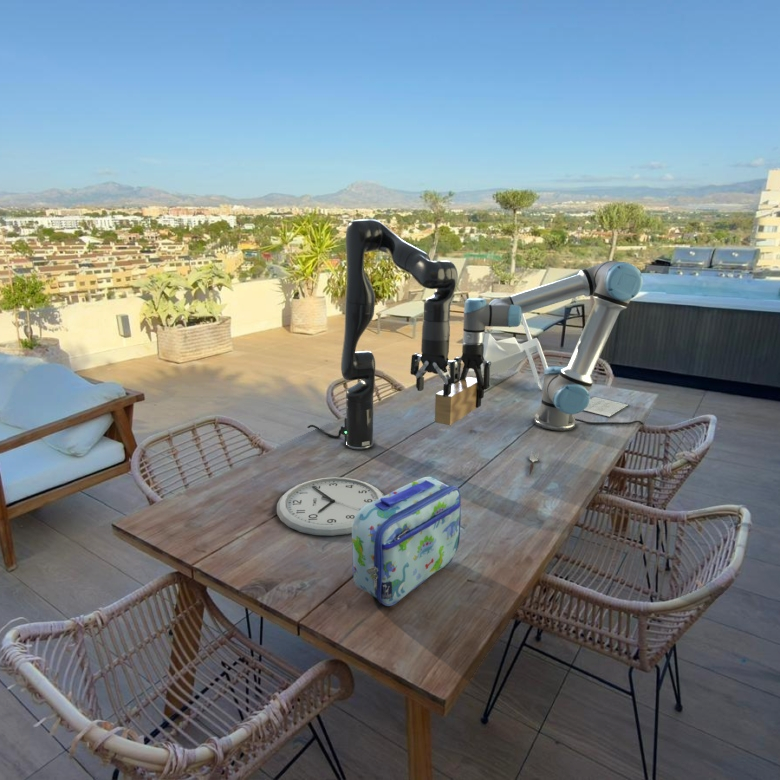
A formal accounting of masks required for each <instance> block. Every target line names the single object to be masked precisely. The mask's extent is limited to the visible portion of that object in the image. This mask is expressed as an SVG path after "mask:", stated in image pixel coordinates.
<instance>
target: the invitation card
mask: <svg viewBox="0 0 780 780" xmlns="http://www.w3.org/2000/svg"><path fill="white" fill-rule="evenodd" d="M628 406H629V404H627V403H623V402H618V401H614V400H609V399H605V398H601V397H596V396H593V397H592V398H590V401H589V404H588V406H587V407H586V408H585V409H584V410H583V411H584V412H587V413H593V414H596V415H600V416H604V417H608V418H609V417H611V416H613V415H614V414H616V413H617V412H619V411H621V410H623V409H624V408H626V407H628Z"/></svg>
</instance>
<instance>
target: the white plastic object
mask: <svg viewBox="0 0 780 780" xmlns="http://www.w3.org/2000/svg"><path fill="white" fill-rule="evenodd" d="M521 323H522V326H523V328H524V329H523V330H524V332H525V335H526V338H527V341H524V342H522V343H521V342H519V341H517V338H516V337H515V336H513V337H508V338H504V339H499V340H496V339H495V338H494V336H493V335H492V334H491V333H490V332H489V333H487V332H486V333H485V337H484V342H483V344H484V353H483V357H484V360H486V361H488V362H489V361H490V362H491V366H490V376H491V375H492V376H493V375H498V376H501V375H504V374H507V373H508V372H509V370H510V369H512V368H513V367H514V366H516V365H518V364H519V363H520V362H521V361H523V360H525V359H526V357H527V360H528V363H529V367H530V369H531V372H532V375H533V379H534V382H535V384H536V385H537V386H538V388H539V389H540V390H543V385H542V382H541V380H540V377H539V374H538V371H537V368H536V365H535V361H534V358H533V355H532V354H535V353H537V352H538V355H539V358H540V360H541V364H542V367H543V369H544V371H545V369H546V368H547V367H549V366H548V363H547V359H546V357H545V354H544V352H543V351H544V350H543V348H542V346H541V343H540V340H539V339H538V338H537V337H535V338H533V337H532V334H531V331H530V328H529V325H528V322H527V319H526V316H525V313H523V314H522V316H521ZM468 373H469V374H470V375H471V377H472V378H476V374H475V372H474V369H471V368H469V370H468ZM481 373H482V377H484V366H483V363H482V364H481Z"/></svg>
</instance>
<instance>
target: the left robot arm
mask: <svg viewBox="0 0 780 780" xmlns="http://www.w3.org/2000/svg"><path fill="white" fill-rule="evenodd" d="M377 251H378V252H382V253H385V254H387V255H389V256H390V259H391V261H392V263H393V264H394V265H395V267H397V268H398V269H399V270H402V271H403V272H405V273H406V274H409V275H411V277H412V278H413V279H414V280H415V281H416V282H417V283H418V285H420V287H421V286H422V287H423V288H425V289H428V290H434V292H433V295H432V296H430V297H427V298H426V299H425V300H424V303H423V321H422V326H421V344H420V345H421V348H420V351H421V354H420V353H419V352H416V353H414V354H412V355H411V359H410V360H411V361H410V373H409V374H410V375H411V376H415V378H416V380H415V387H416V389H417V391H418V392H421V391H424V388H425V377H424V376H425V375H426V373H430V374H431V373H432V374H435V375H438V377H439V378H441V379H442V381H443V383H444V384H443V387H442V388H443V389H442V390H443V397H448V396H449V395H450V394H451V385H453V384H454V383H455V382H457V381H458V361H457V360H455V361H454V360H449V353H450V337H451V333H450V332H451V326H450V324H451V323H450V316H451V304H452V301H453V298H454V294H455V291H456V289H457V288H456V287H457V284H458V279H459V278H458V275H459V274H458V270H457V267H456V265H455V264H454V263H453V262H452V261H449V260H434V261H433V260H431V258H430V255H428V253H426V252H425V251H423V250H421V249H419V248H417V247H415V246H414V245H412V244H411V243H408V242H406V241H405V240H403V239H401V238H400V237H399V236H398V235H397V234H396V233H394V232H393V231H392V230H391V229H389V228H388V227H387V226H386V225H385V224H383V223H382V222H380V221H379V220H376V219H354V220H351V221H350V222H349V223H348V225H347V227H346V231H345V252H346V253H345V257H346V288H345V289H346V290H345V300H344V301H345V302H344V303H345V304H344V334H343V343H342V351H341V359H340V372H341V375H342V378H343V379H344V380H345V381H356V380H359V381H358V382H357V383H356V384H354V385H352V386H350V387H349V388H348V389H347V390H346V391H345V406H346V407H345V408H346V409H345V412H346V414H345V415H346V417H344V420H343V421H344V422H343V423H344V424H343V425H340V429H339V431H338V435H333V434H331V433H329V432H326V431H325V430H324V429H322V428H320V427H318V426H317V425H315V424H309V425H307V427H306V428H307V429H310V428H314V429H316V430H318V431H319V432H321V433H323V434H324V435H326V436H328V437H330V438H332V439H333V438H335V439H338V438H340V437H341V435H343V436H344V444H345V445H346V447H347V448H348V449H351V450H358V451H362V450H368V449H370V448H372V447H373V446H374V392H375V383H376V382H375V379H376V359H375V358H376V357H375V355H374V354H373V352H371V351H370V350H364V351H356V350H357V345H358V342H359V340H360V338H361V337H362V336H363V334H364V332H365V331H366V330H367V328H368V327H369V325H370V324H371V322H372V320H373V318H374V315H375V307H376V306H375V304H376V293H375V291H374V288H373V286H372V284H371V281H370V280H369V277H368V276H367V274H366V271H365V253H370V252H371V253H372V252H377ZM420 362H421V364H422V365H421V367H420ZM448 368H449V369H448ZM319 428H320V429H319Z"/></svg>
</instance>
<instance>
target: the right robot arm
mask: <svg viewBox="0 0 780 780" xmlns="http://www.w3.org/2000/svg"><path fill="white" fill-rule="evenodd" d="M643 283H644V278H643V275H642V273H641V270H640V269H639V268H638V267H637V266H635V265H634V264H632V263H629V262H625V261H618V260H606V261H604V262H601V263H598V264H595V265H593V266H590V267H587V268H585V269H581V270H579V272H578V273H577V274H575V275H572V276H569V277H566V278H562V279H560V280H556V281H554V282H549V283H547V284H543V285H540V286H538V287H534V288H531V289H528V290H525V291H522V292H519V293H515V294H512V295H510V296H506V297H503V298H494V299H493V300H491V301H490V302H489V303H488V302H487V299H485V298H482V297H481V298H480V297H470V298H467V299H466V300H465V301H464V307H463V308H464V309H463V326H462V329H463V331H462V342H463V343H462V345H461V346H462V347H461V353H462V354H461V356H456V357H454V358H453V361H455V360H457V361H458V381H457V382H459V381H461V380H463V379H465V378H467V377H468V376H467V375H468V373H469V368H471V369H474V372H475V374H476V377H475V378H476V379H477V383H478V388H479V389H478V390H477V396H476V409H478V408H479V407H481V406H482V399H483V398H484V396H485V390H488V389H489V388H490V385H491V384H490V376H491V375H490V366H491V362H490V361H489V362H488V361H486V360H484V357H483V353H484V344H483V342H484V337H485V331H486V327H489V328H490V327H497V328H499V327H500V328H517V327H519V326H520V325H521V323H522V320H521V316H522V314H523V313H524V314H526V313H529V312H532V311H535V310H539V309H542V308H545V307H548V306H552V305H556V304H558V303H561V302H564V301H567V300H572V299H575V298H578V297H581V296H585V297H591V296H592V299H593V301H594V304H593V306H592V308H591V311H590V312H589V316H588V317H587V320H586V322H585V325H584V327H583V329H582V331H581V335H580V336H579V339H578V341H577V343H576V345H575V348H574V350H573V353H572V355H571V356H570V359H569V362H568V364H567V366H554V365H553V366H548V367H547V368H546V369H545V370H544V373H543V381H542V382H543V384H542V394H541V402H540V405H539V407H538V410H537V411H536V413H535V415H534V424H535V425H536V426H537V427H539V428H542V429H544V430H549V431H556V432H567V431H572V430H574V429H575V428H576V422H580V423H583V424H588V425H632V424H637V423H639V424H640V425H644V422H642V421H641V420H633V421H625V422H624V421H622V422H621V421H618V422H616V421H615V422H614V421H599V422H597V421H596V422H594V421H587V420H584V419H579V418H575V417H576V416H575V415H577V414H579V413H581V412H583V411H584V409H585V408H586V407H587V406H588V404H589V401H590V399H591V394H590V390H591V389H592V386H593V384H594V380H593V378H592V375H593V373H594V370H595V367H596V366H597V364H598V361H599V359H600V357H601V355H602V352H603V350H604V348H605V345H606V343H607V341H608V339H609V337H610V334H611V332H612V330H613V328H614V325H615V323H616V321H617V319H618V317H619V314H620V313H621V312H622V311H624V310H625V309H627V308H628V306H629V304H630V302H631V300H632V299H634V298H635V297H636V296H637V295H639V293H640V292H641V290H642V288H643ZM462 363H463V368H462V370H461V367H462ZM482 363H483V366H484V376H482V373H481V364H482ZM457 382H455V383H457ZM455 383H453V384H455Z"/></svg>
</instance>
